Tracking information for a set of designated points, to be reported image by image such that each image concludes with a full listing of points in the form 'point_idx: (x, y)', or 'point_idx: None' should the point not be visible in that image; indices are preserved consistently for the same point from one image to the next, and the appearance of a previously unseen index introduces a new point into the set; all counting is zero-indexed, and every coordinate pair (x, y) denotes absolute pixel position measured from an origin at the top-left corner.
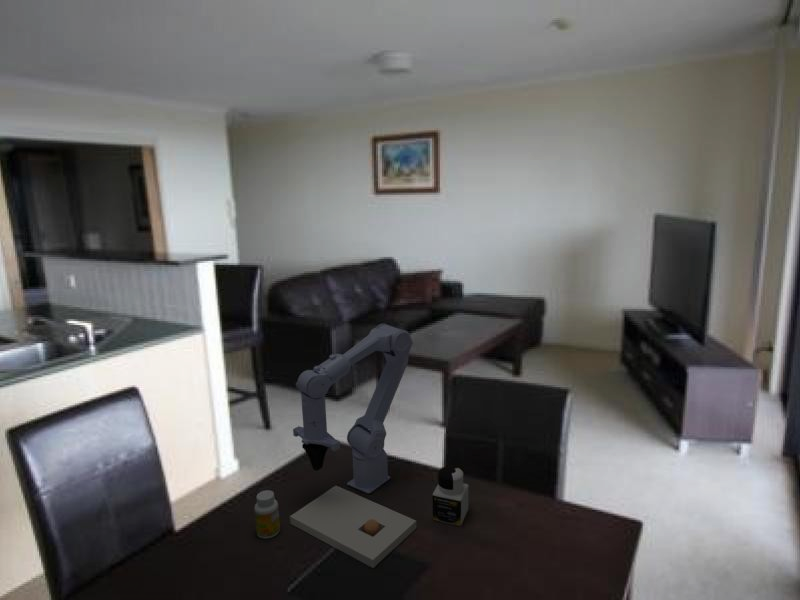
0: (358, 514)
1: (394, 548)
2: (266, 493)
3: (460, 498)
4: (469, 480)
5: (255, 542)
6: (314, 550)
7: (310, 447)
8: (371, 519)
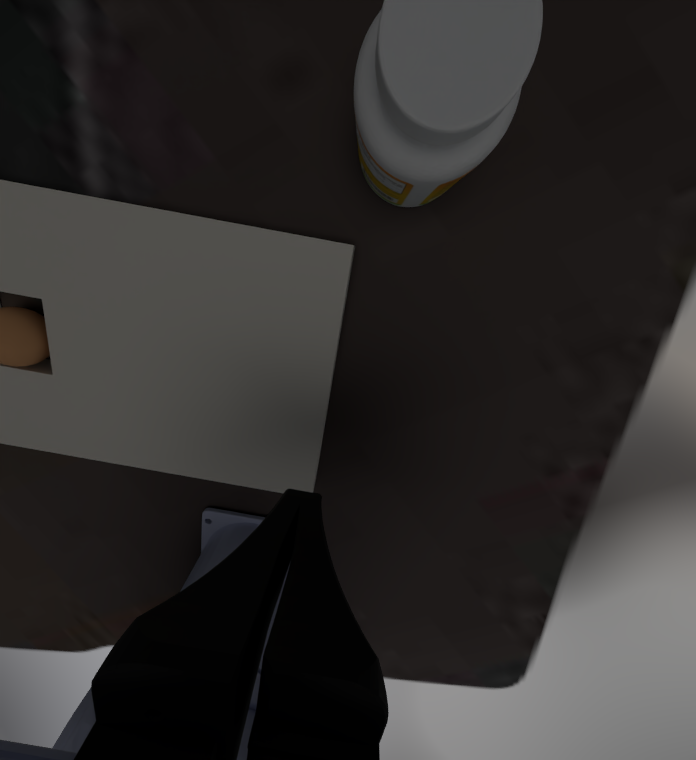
0: (109, 381)
1: None
2: (463, 64)
3: None
4: (15, 641)
5: None
6: (147, 139)
7: (199, 685)
8: (3, 356)
